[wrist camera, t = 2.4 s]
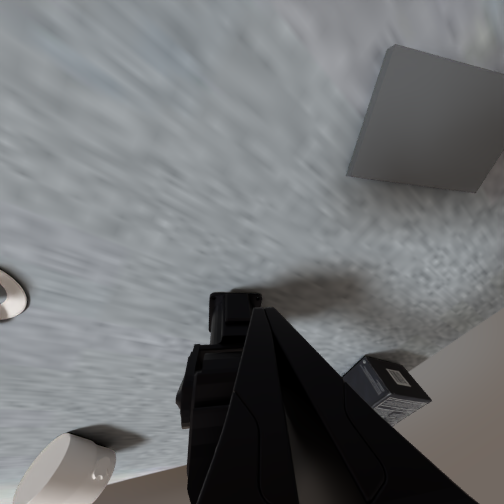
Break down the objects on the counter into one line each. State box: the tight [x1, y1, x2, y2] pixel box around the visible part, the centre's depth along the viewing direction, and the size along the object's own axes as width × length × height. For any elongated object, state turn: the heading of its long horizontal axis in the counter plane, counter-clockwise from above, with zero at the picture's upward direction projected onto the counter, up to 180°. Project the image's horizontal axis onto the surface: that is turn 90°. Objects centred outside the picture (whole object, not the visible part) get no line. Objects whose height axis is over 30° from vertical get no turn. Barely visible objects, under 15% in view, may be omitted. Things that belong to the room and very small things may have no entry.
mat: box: [346, 44, 504, 193], centre depth 17 cm, size 9×15×1 cm, turn 83°
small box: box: [342, 357, 432, 427], centre depth 34 cm, size 11×6×10 cm
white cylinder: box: [13, 433, 116, 504], centre depth 32 cm, size 12×9×8 cm
